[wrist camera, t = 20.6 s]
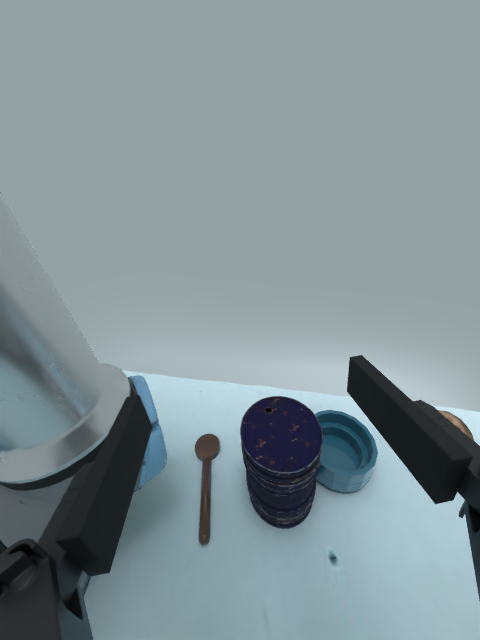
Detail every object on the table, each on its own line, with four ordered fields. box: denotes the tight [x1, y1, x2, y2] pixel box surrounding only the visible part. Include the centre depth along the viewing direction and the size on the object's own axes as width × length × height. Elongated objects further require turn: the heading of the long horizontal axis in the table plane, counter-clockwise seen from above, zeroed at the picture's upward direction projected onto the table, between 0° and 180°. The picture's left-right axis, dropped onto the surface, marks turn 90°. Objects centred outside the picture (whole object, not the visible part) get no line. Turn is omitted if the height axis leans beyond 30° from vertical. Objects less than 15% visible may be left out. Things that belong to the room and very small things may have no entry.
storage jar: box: [240, 396, 323, 528], centre depth 31 cm, size 10×10×15 cm
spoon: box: [195, 434, 220, 545], centre depth 36 cm, size 15×4×1 cm, turn 6°
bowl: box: [315, 410, 378, 493], centre depth 36 cm, size 10×10×6 cm
